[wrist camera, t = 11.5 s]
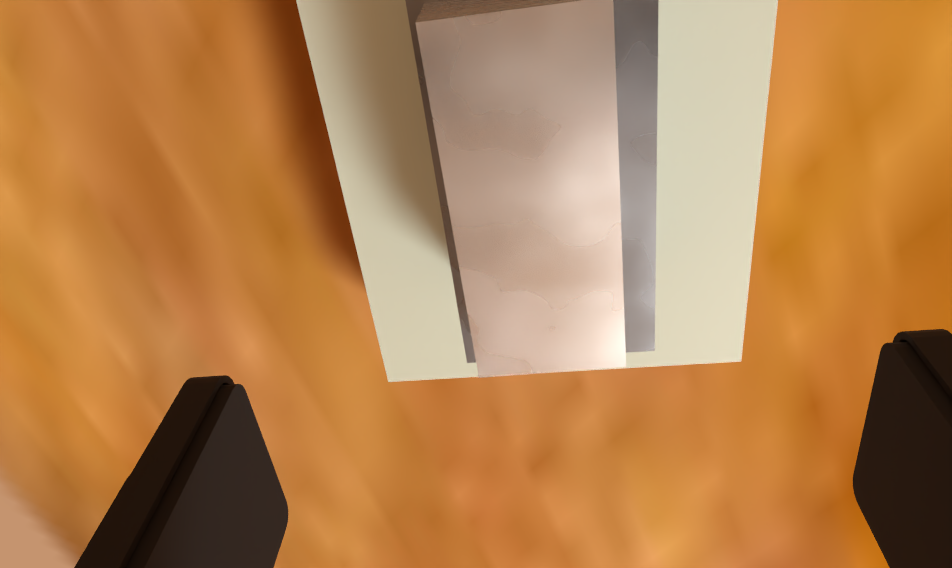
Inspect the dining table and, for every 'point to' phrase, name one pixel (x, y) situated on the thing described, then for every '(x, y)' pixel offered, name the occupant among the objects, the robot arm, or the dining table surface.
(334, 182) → the dining table surface
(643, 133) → the housing base
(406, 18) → the stand
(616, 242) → the cover
